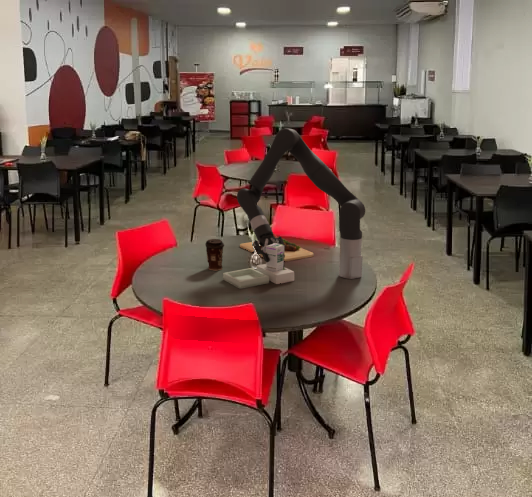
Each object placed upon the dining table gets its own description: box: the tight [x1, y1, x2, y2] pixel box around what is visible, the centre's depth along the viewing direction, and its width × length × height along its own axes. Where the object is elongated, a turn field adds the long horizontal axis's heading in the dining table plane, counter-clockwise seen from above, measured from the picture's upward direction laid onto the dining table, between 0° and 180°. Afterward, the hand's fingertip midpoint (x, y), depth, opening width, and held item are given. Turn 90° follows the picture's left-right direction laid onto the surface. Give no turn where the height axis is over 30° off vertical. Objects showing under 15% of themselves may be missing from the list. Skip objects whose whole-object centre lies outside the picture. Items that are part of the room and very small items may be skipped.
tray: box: [222, 267, 270, 290], centre depth 274 cm, size 14×14×3 cm
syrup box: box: [265, 243, 285, 272], centre depth 278 cm, size 6×6×14 cm
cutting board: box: [239, 233, 314, 262], centre depth 320 cm, size 35×23×8 cm
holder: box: [256, 263, 295, 285], centre depth 279 cm, size 16×9×4 cm, turn 33°
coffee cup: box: [205, 238, 225, 272], centre depth 290 cm, size 9×8×13 cm
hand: (275, 259), depth 277 cm, fingers closed on syrup box, 7 cm apart
